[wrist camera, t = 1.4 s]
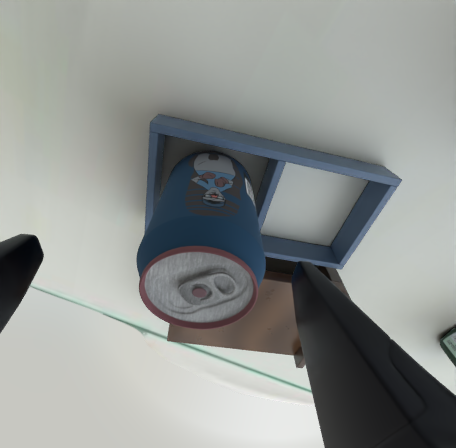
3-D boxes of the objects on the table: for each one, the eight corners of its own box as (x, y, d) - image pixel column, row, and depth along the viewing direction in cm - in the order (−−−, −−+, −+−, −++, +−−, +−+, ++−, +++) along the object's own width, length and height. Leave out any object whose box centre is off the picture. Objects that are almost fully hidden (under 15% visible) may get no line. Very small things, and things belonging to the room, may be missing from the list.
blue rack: (384, 166, 21) (402, 179, 19) (332, 251, 27) (341, 269, 24) (158, 113, 19) (149, 122, 17) (151, 219, 24) (144, 236, 22)
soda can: (193, 227, 25) (172, 347, 15) (155, 164, 21) (92, 268, 11) (261, 203, 23) (287, 318, 13) (232, 131, 19) (240, 217, 10)
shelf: (332, 261, 27) (353, 304, 23) (292, 325, 34) (302, 368, 29) (185, 236, 25) (176, 278, 21) (173, 309, 32) (164, 353, 27)
